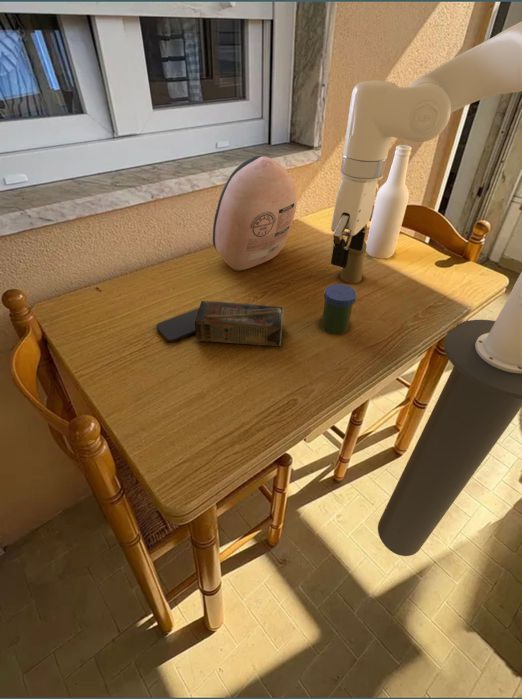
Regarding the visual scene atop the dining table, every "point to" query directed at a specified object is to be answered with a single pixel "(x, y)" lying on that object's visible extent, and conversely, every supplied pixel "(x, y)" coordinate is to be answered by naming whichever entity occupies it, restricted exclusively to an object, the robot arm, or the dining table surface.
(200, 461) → the dining table surface
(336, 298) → the jar lid
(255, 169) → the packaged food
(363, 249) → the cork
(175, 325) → the phone
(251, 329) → the beverage carton
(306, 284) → the dining table surface
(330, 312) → the jam jar
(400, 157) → the alcohol
